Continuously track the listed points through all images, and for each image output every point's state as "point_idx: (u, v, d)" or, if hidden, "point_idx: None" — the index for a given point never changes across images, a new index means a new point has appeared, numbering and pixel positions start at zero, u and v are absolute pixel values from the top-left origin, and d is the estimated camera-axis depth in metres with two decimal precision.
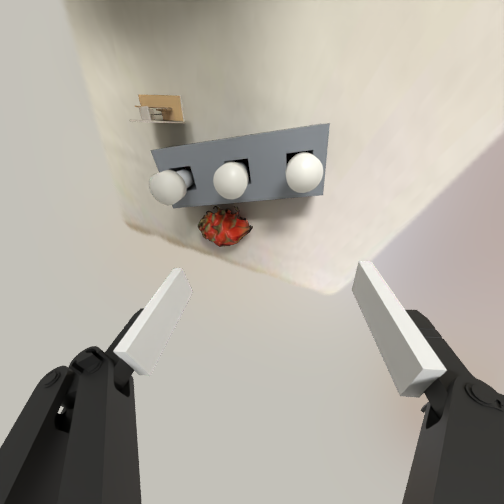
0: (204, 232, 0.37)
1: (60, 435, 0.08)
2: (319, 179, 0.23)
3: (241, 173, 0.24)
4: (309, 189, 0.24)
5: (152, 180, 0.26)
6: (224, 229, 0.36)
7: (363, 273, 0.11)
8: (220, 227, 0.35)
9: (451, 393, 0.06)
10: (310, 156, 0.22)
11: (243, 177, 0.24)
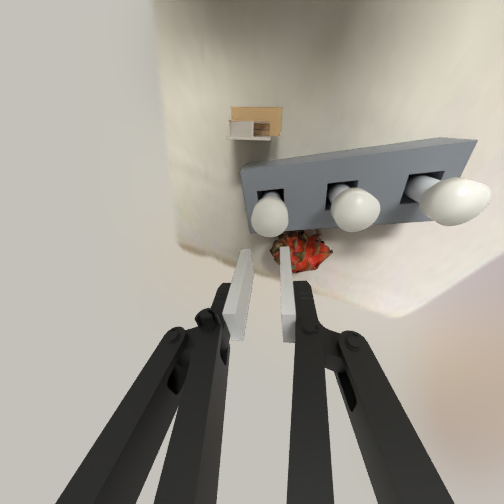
0: None
1: (168, 393, 0.08)
2: (479, 211, 0.19)
3: (377, 203, 0.19)
4: (460, 222, 0.20)
5: (258, 210, 0.21)
6: (307, 255, 0.32)
7: (280, 255, 0.14)
8: (304, 254, 0.31)
9: (295, 336, 0.09)
10: (480, 185, 0.17)
11: (378, 208, 0.20)
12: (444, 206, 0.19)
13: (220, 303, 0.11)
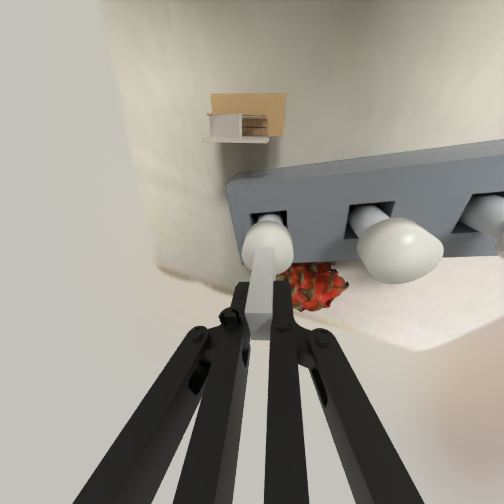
0: None
1: (189, 394, 0.08)
2: None
3: (439, 248, 0.12)
4: None
5: (251, 242, 0.15)
6: (316, 293, 0.24)
7: (264, 255, 0.14)
8: (314, 292, 0.23)
9: (270, 335, 0.09)
10: None
11: (439, 254, 0.12)
12: None
13: (239, 302, 0.11)
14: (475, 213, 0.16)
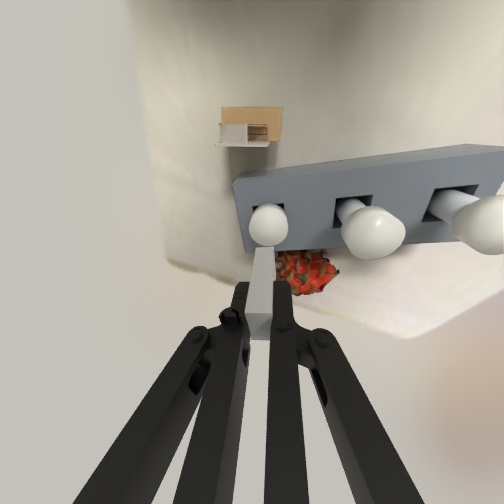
0: None
1: (189, 393, 0.08)
2: None
3: (402, 228, 0.15)
4: None
5: (256, 218, 0.20)
6: (310, 277, 0.27)
7: (264, 255, 0.14)
8: (308, 276, 0.27)
9: (270, 335, 0.09)
10: None
11: (402, 233, 0.16)
12: (488, 232, 0.15)
13: (239, 302, 0.11)
14: (438, 204, 0.20)
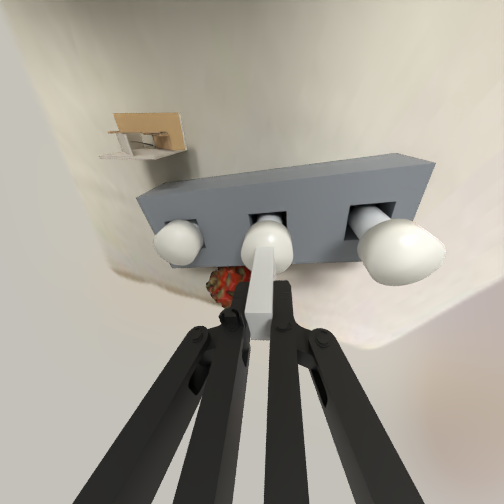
0: (215, 297, 0.27)
1: (189, 393, 0.08)
2: (431, 270, 0.13)
3: (287, 245, 0.15)
4: (407, 282, 0.14)
5: (158, 237, 0.19)
6: None
7: (264, 255, 0.14)
8: None
9: (270, 335, 0.09)
10: (427, 237, 0.12)
11: (290, 250, 0.15)
12: (381, 262, 0.13)
13: (239, 302, 0.11)
14: (355, 222, 0.18)
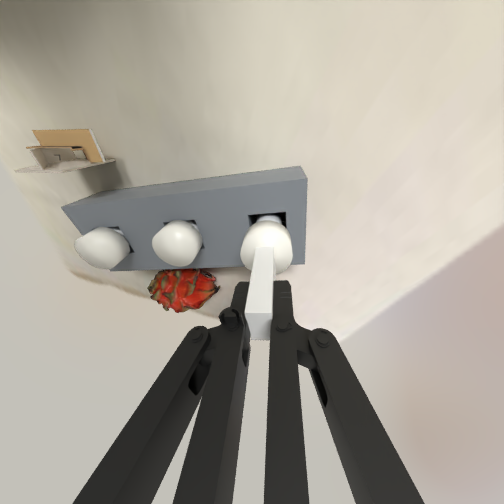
0: (154, 299, 0.28)
1: (189, 393, 0.08)
2: (288, 262, 0.16)
3: (186, 240, 0.18)
4: None
5: (78, 244, 0.20)
6: (179, 296, 0.27)
7: (264, 255, 0.14)
8: (173, 295, 0.27)
9: (270, 335, 0.09)
10: (271, 235, 0.15)
11: (189, 244, 0.18)
12: (248, 256, 0.16)
13: (239, 302, 0.11)
14: None
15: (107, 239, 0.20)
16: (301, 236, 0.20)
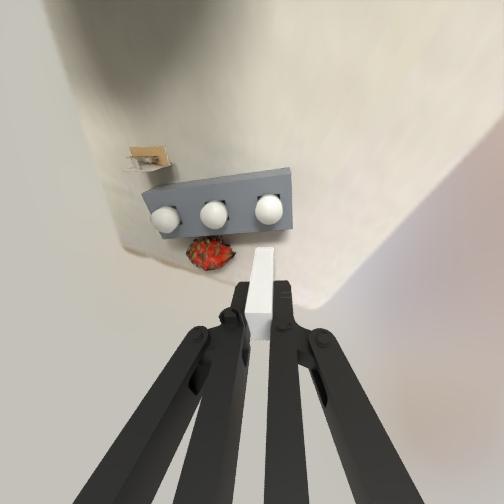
0: (191, 259, 0.41)
1: (189, 394, 0.08)
2: (280, 215, 0.30)
3: (221, 210, 0.31)
4: (274, 222, 0.31)
5: (153, 215, 0.33)
6: (209, 256, 0.40)
7: (264, 255, 0.14)
8: (205, 255, 0.39)
9: (270, 335, 0.09)
10: (271, 199, 0.29)
11: (222, 213, 0.31)
12: (259, 212, 0.30)
13: (239, 302, 0.11)
14: None
15: (170, 212, 0.33)
16: (289, 209, 0.32)
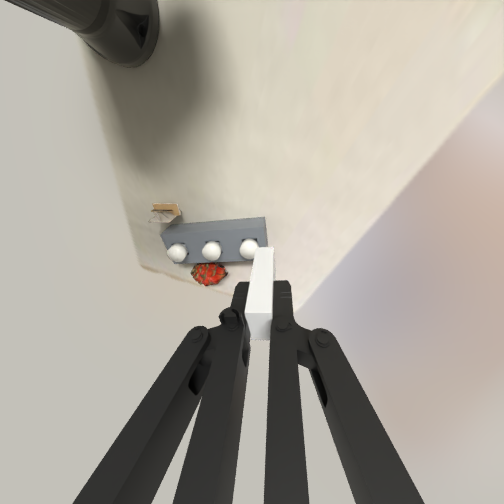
0: (195, 278, 0.55)
1: (189, 393, 0.08)
2: None
3: (216, 249, 0.45)
4: (252, 257, 0.45)
5: (169, 250, 0.47)
6: (208, 276, 0.54)
7: (264, 255, 0.14)
8: (205, 276, 0.54)
9: (270, 335, 0.09)
10: (250, 244, 0.43)
11: (217, 251, 0.45)
12: (242, 251, 0.45)
13: (239, 302, 0.11)
14: None
15: (181, 248, 0.48)
16: None
